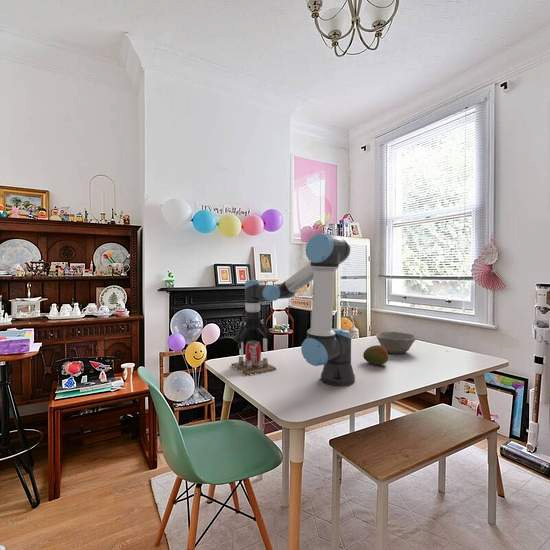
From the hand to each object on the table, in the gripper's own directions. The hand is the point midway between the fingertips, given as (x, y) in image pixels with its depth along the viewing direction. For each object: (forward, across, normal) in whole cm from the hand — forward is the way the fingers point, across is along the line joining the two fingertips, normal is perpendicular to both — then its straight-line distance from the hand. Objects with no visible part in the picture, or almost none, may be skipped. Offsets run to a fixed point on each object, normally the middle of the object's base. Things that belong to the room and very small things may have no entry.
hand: (253, 353), depth 166 cm
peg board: (+8, 0, 0) cm, 8 cm away
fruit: (+9, -57, +29) cm, 64 cm away
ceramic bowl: (+8, -86, +19) cm, 88 cm away
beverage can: (+7, 0, 0) cm, 7 cm away
